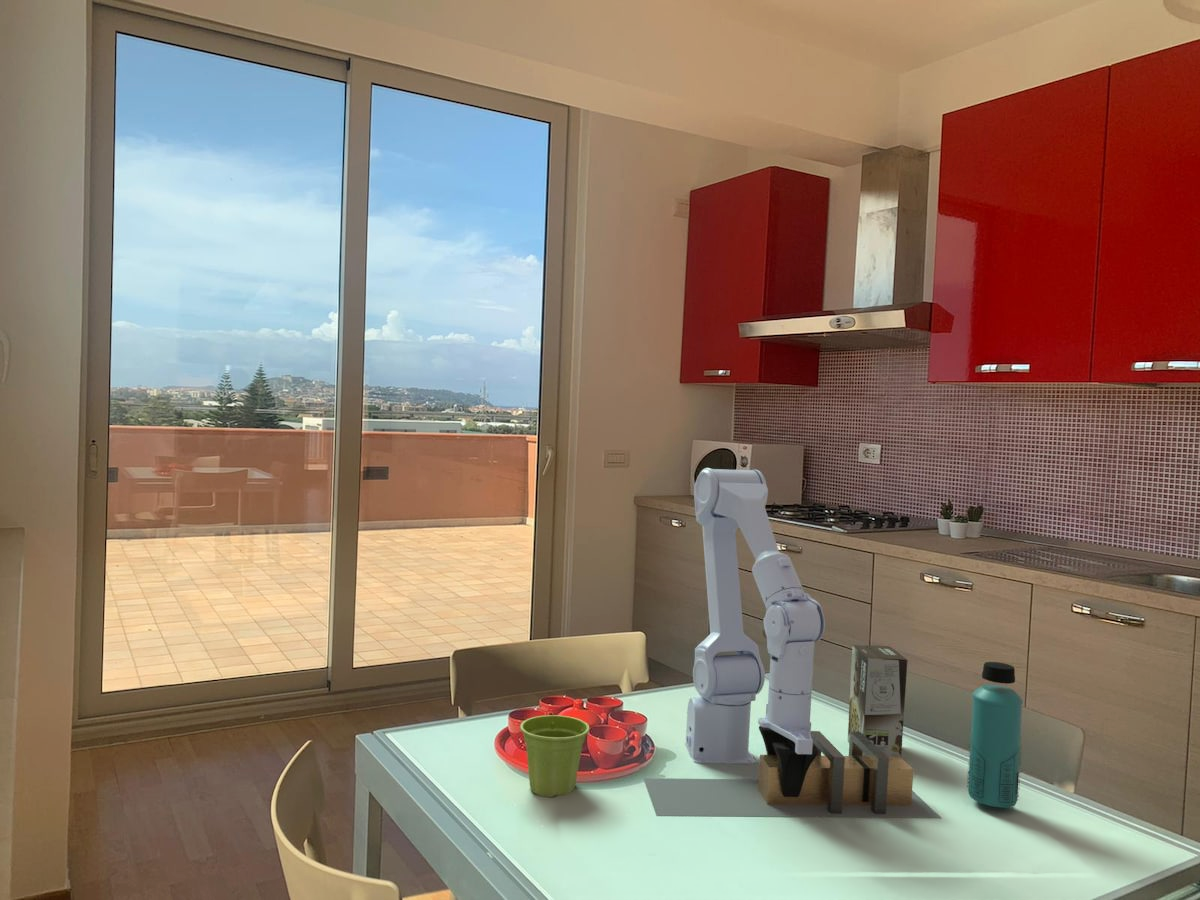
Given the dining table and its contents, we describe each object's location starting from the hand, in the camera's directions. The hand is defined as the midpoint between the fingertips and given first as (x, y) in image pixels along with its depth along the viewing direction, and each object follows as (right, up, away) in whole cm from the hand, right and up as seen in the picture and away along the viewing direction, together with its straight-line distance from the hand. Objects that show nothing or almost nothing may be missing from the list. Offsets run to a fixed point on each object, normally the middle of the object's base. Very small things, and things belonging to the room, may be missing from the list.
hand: (784, 787), depth 121 cm
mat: (0, -2, 0) cm, 2 cm away
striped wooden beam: (+7, -2, +1) cm, 7 cm away
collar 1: (+5, -2, +1) cm, 6 cm away
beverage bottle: (+28, -3, +1) cm, 29 cm away
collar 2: (+11, -2, +1) cm, 12 cm away
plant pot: (-32, 0, 0) cm, 32 cm away
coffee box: (+18, -2, +21) cm, 28 cm away
